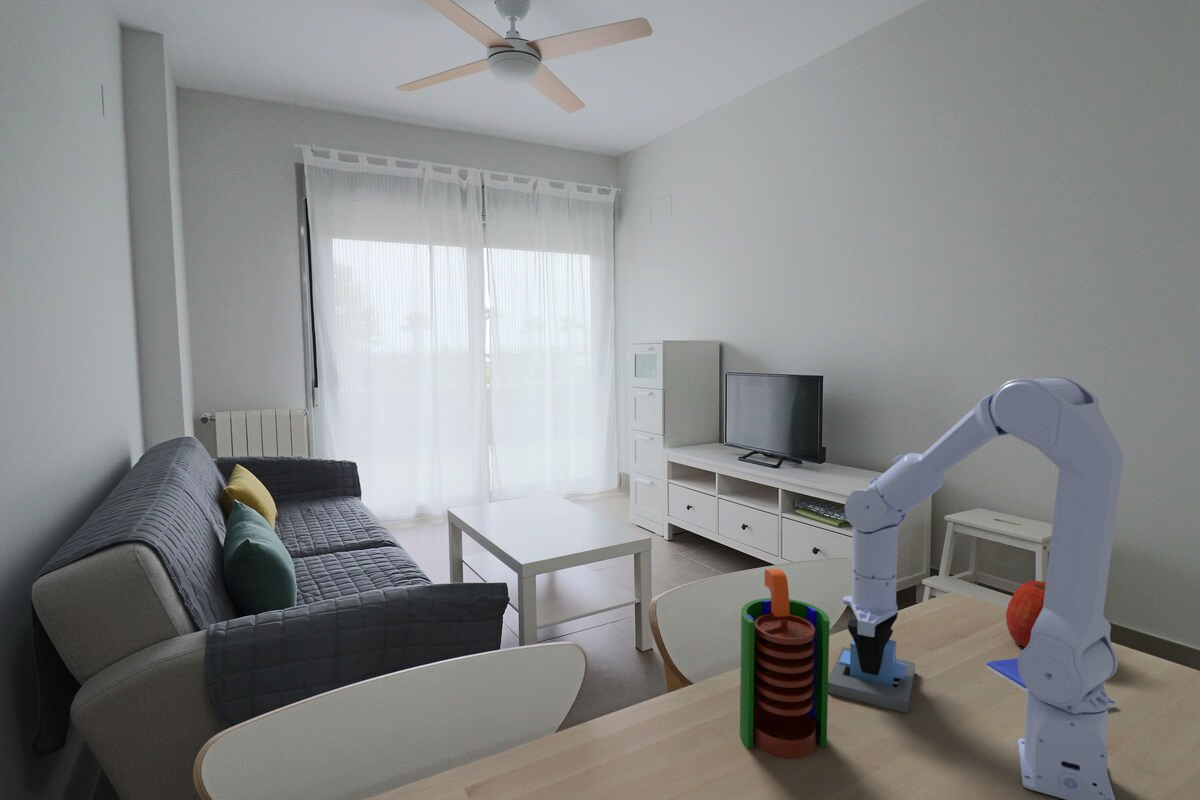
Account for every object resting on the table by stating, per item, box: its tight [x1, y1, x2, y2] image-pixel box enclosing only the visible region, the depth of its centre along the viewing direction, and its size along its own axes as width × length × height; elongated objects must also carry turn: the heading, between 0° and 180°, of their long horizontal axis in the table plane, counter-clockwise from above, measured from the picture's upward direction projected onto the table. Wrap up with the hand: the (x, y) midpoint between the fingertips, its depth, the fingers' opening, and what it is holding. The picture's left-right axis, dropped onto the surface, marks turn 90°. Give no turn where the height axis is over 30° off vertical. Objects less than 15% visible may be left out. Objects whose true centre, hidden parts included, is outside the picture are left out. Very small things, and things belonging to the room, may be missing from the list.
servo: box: [839, 638, 908, 687], centre depth 88 cm, size 4×8×6 cm, turn 59°
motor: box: [739, 568, 831, 760], centre depth 76 cm, size 10×9×20 cm
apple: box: [1005, 580, 1046, 648], centre depth 98 cm, size 11×11×11 cm
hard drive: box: [986, 657, 1116, 709], centre depth 87 cm, size 2×8×12 cm
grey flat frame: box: [828, 646, 916, 714], centre depth 89 cm, size 12×10×2 cm
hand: (872, 665), depth 89 cm, fingers closed on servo, 4 cm apart
